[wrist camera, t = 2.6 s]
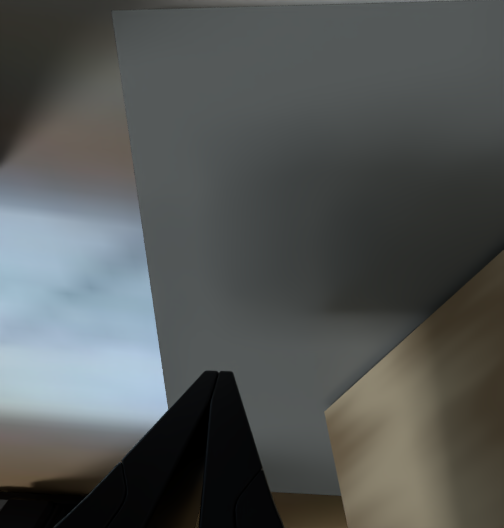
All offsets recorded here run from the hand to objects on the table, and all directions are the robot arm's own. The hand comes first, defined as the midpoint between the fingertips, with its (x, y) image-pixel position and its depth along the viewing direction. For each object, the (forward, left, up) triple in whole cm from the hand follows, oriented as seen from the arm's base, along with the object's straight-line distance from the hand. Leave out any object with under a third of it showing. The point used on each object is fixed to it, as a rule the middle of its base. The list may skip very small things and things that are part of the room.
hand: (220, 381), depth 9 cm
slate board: (0, -7, -4) cm, 8 cm away
